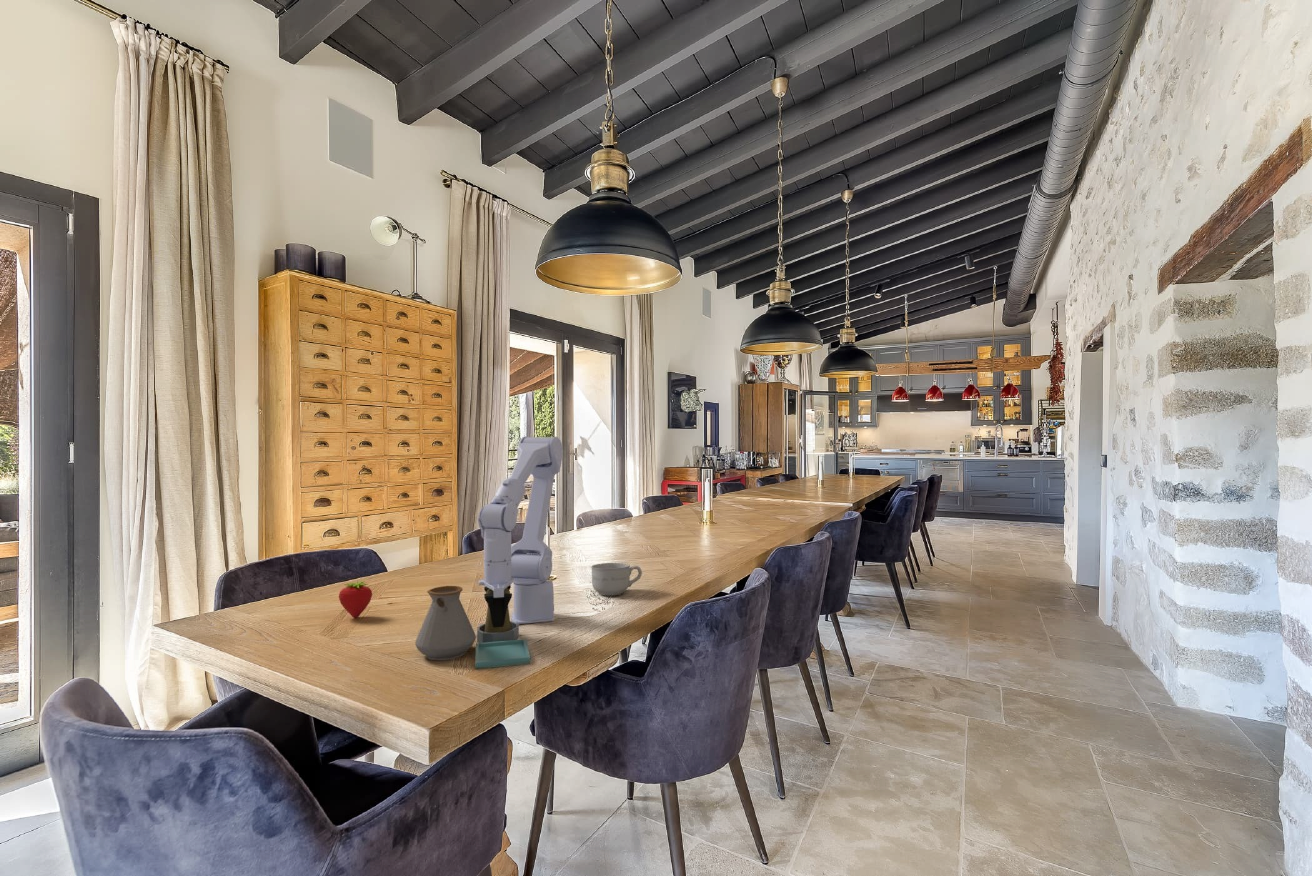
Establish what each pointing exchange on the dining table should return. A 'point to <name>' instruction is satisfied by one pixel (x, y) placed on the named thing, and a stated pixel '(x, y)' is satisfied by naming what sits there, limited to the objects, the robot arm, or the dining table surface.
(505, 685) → the dining table surface
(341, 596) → the strawberry
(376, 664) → the dining table surface
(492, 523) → the robot arm
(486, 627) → the cork
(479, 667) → the tray
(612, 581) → the teacup
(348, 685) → the dining table surface
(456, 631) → the coffee pot
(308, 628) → the dining table surface
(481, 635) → the ring
